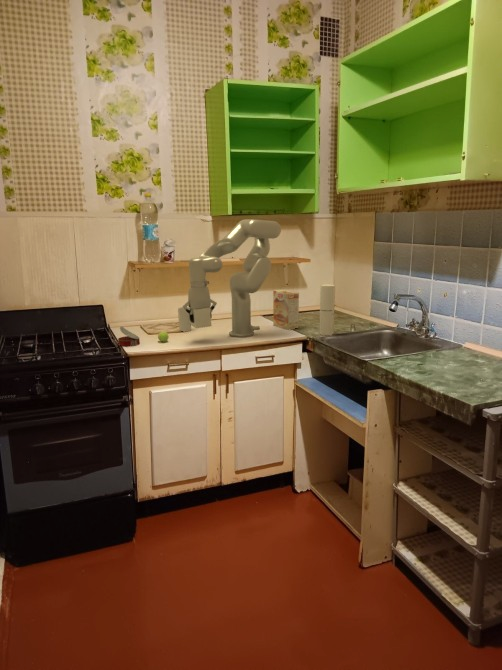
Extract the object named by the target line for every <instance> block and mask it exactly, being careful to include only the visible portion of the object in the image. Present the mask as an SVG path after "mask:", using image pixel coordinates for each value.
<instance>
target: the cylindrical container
mask: <svg viewBox="0 0 502 670" xmlns="http://www.w3.org/2000/svg"><path fill="white" fill-rule="evenodd" d="M319 288H320V291H319V292H320V293H319V294H320V295H319V297H320V298H319V301H320V302H319V331H318V332H319V335H320V334H321V335H320V336H325V335H330V336H333V335H334V330H335V328H334V327H335V298H336V295H335V294H336V293H335V292H336V285H335V284H329V283H327V284H326V283H325V284H320V287H319ZM332 334H333V335H332Z"/></svg>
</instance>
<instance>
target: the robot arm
mask: <svg viewBox="0 0 502 670" xmlns="http://www.w3.org/2000/svg"><path fill="white" fill-rule="evenodd" d="M281 232H282V228H281V224H280V223H278V221H275V220H263V219H252V218H251V219H247V218H246V219H241V220H240V221H238V222H237V223H236V225H234V227H232V229H231V230H230V231H229V232H227V234H226V235H225V236H224V237H223V238H222V239H219V240H218V241H217V242H214V243H213V244H212V245H210V246H209V247H208V248H207V249H205V250H204V251H203V252H202V253H201V255H200V256H199V257H193V258H190V259H189V260H188V269H189V270H188V271H189V283H190V284H189V285H190V287H189V288H188V290H187V291H188V295H187V299H188V300H187V302H186V303H184V305H182V307H183V308H184V309H185V311H187V312H188V313H189V316H190V321H191V322H192V323H194V315H193V309H201V308H208V307H209V308H210V313H211V319H212V317H213V316H212V312H213V310H214V309H215V308H216V306H217V305H218V304H217V301H215V300H213V299H211V294H210V289H209V286H208V285H210V281H208V280H207V274H208V273H210V274H211V273H214V274H215V273H217V272H220V271H221V270H222V268H223V261H222V259H221V257H223V256H226V255H229V254H233V253H235V252H236V251H238V249H239V248H240V247H241V246H242V245H243V244H244V243H245V242H246V241H247V240H248V239H249V238H254V244H253V246H252V248H251V249H250V251H249V253H248V254H247V256H245V257H246V258H244V261H243V263H242V269H243V271H238V272H235V273H233V274H231V276H230V278H229V288H230V294H231V330H230V331H229V333H228V335H229V336H231V337H235V338H247V337H252V336H253V335H255V333H254V331H259V330H260V329H261V327H260V326H259V325H258V326H257V325H252V323H251V322H252V321H251V320H252V316H251V315H252V309H251V308H252V307H251V306H252V305H251V302H252V301H251V300H252V299H251V295H250V294H255V293H256V292H258V291H259V290H260V289H261V287H262V285H263V284H264V282H265V280H266V279H267V277H268V276H269V274H270V273H271V270H272V262H271V259H270V258H269V257H268V255H269V253H270V250H271V249H270V248H271V246H270V245H271V244H270V239H273V240H274V239H277V238H278V237H279V236H280V235H281ZM187 307H189V308H190V310H188V309H187Z"/></svg>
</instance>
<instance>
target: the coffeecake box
mask: <svg viewBox="0 0 502 670" xmlns="http://www.w3.org/2000/svg"><path fill="white" fill-rule="evenodd" d="M272 294H273V299H272V300H273V301H272V303H273V307H272V308H273V311H272V312H273V320H272V321H273V326H275V327H278V328H281V329H283V330H287V329H288V330H287V331H290V330H289V329H292V330H296V329H295V328H298V329H299V315H300V314H299V311H300V310H299V303H300V300H299V298H300V293H299V292H295V291H292V290H287V289H274V290H273V293H272Z"/></svg>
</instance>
